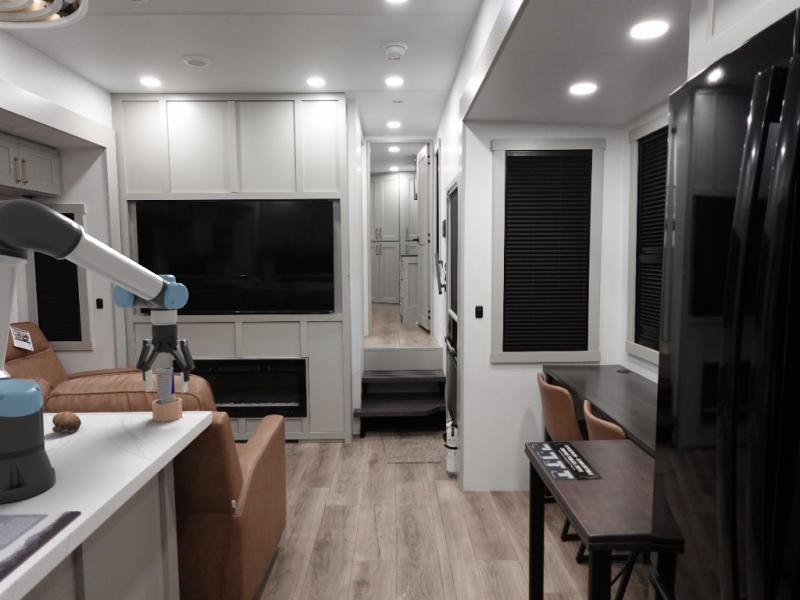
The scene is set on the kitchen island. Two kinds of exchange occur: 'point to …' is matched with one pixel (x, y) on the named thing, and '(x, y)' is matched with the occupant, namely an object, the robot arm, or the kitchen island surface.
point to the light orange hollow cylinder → (167, 410)
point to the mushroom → (66, 422)
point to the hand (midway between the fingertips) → (166, 391)
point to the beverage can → (165, 385)
